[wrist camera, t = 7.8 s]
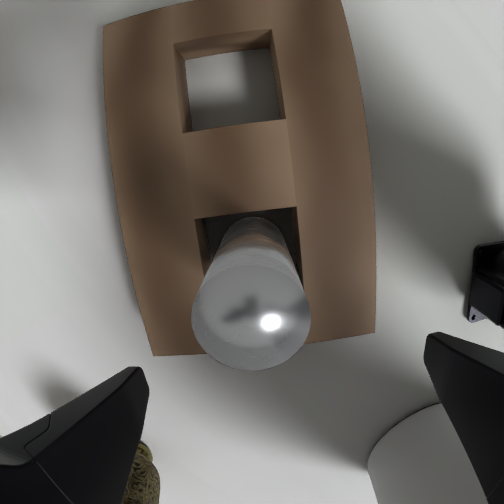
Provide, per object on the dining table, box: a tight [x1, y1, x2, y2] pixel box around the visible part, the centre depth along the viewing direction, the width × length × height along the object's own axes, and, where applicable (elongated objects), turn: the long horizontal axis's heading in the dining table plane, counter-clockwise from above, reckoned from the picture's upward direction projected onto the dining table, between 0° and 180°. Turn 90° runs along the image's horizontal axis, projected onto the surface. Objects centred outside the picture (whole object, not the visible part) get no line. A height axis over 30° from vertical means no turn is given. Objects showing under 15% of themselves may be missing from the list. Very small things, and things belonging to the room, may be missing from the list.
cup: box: [122, 443, 160, 504], centre depth 22 cm, size 8×7×8 cm
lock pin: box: [191, 217, 311, 371], centre depth 15 cm, size 4×4×10 cm
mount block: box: [103, 0, 376, 356], centre depth 17 cm, size 14×21×3 cm, turn 7°
